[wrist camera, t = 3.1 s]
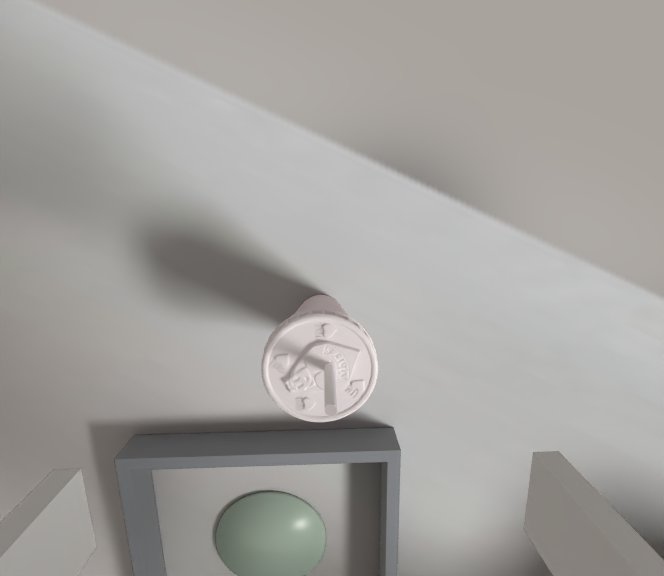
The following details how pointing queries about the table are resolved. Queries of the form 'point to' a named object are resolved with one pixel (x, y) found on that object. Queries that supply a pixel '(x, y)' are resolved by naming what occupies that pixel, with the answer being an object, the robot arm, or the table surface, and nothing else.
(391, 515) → the grey square frame
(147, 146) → the table surface
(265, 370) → the smoothie
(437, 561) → the table surface
